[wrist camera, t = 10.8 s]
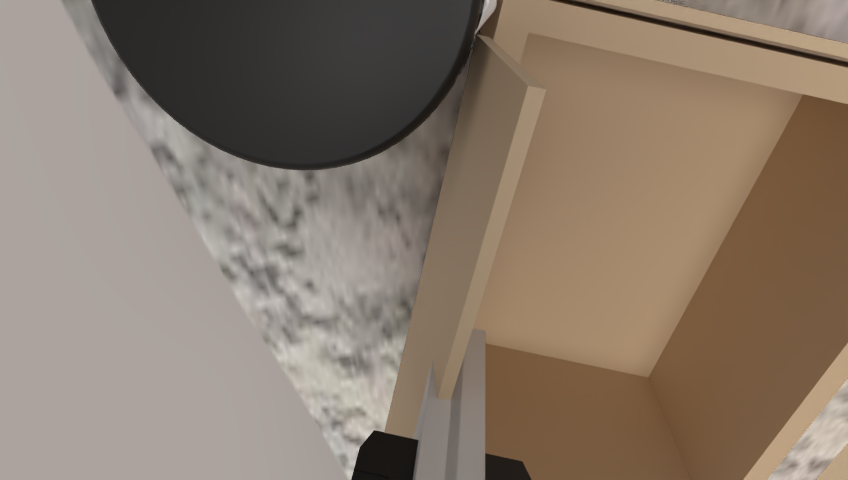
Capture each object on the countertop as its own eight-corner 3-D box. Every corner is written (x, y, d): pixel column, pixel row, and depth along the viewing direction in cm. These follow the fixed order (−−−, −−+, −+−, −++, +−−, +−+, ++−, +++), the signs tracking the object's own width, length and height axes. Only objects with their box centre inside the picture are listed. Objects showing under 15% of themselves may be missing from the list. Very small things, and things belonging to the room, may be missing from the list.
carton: (496, -37, 20) (511, -33, 12) (843, 42, 21) (1073, 95, 13) (408, 339, 29) (384, 479, 22) (649, 389, 30) (713, 546, 22)
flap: (488, 36, 12) (476, 34, 12) (546, 88, 8) (528, 86, 8) (382, 473, 20) (375, 472, 20) (383, 616, 16) (374, 616, 16)
